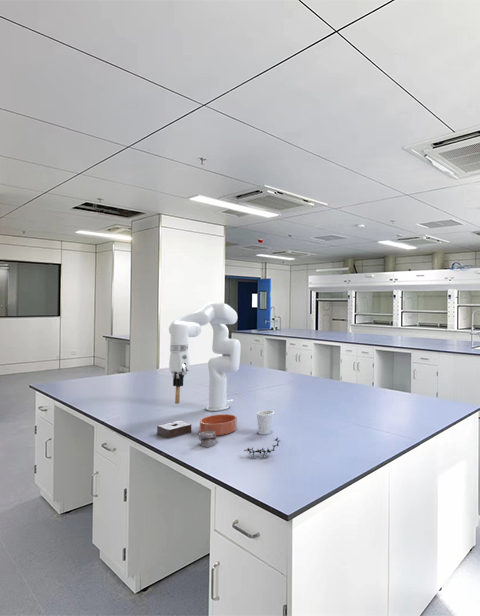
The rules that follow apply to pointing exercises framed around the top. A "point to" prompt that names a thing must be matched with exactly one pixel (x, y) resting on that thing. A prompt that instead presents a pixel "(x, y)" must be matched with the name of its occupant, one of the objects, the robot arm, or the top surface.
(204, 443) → the dental mold
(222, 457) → the top surface
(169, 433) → the holder
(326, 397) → the top surface
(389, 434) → the top surface
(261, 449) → the molecular model
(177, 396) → the light wooden dowel
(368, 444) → the top surface
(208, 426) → the mixing bowl
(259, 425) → the dixie cup
